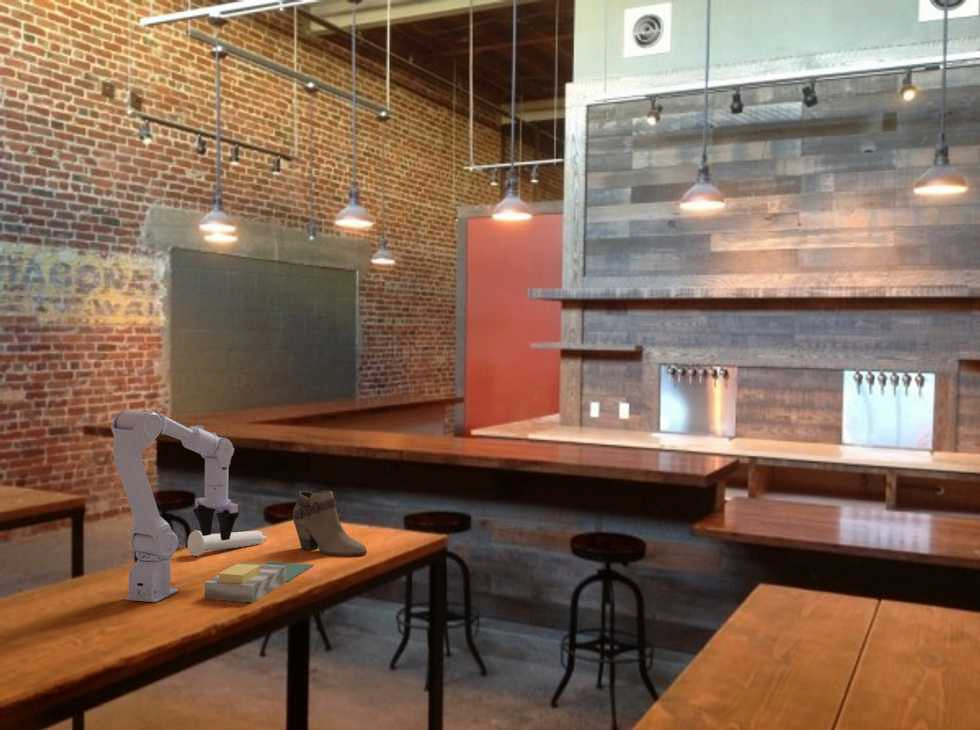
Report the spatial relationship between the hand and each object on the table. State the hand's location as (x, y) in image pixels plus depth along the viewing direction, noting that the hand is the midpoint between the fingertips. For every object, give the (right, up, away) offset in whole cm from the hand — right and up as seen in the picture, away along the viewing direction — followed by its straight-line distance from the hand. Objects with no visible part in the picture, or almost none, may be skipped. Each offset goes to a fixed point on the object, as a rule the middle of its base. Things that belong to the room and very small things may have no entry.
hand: (215, 537), depth 220 cm
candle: (-12, -6, +19) cm, 23 cm away
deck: (+11, -10, -11) cm, 19 cm away
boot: (+23, -10, +28) cm, 38 cm away
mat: (+14, -10, +5) cm, 18 cm away
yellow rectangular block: (+10, -7, -15) cm, 19 cm away
